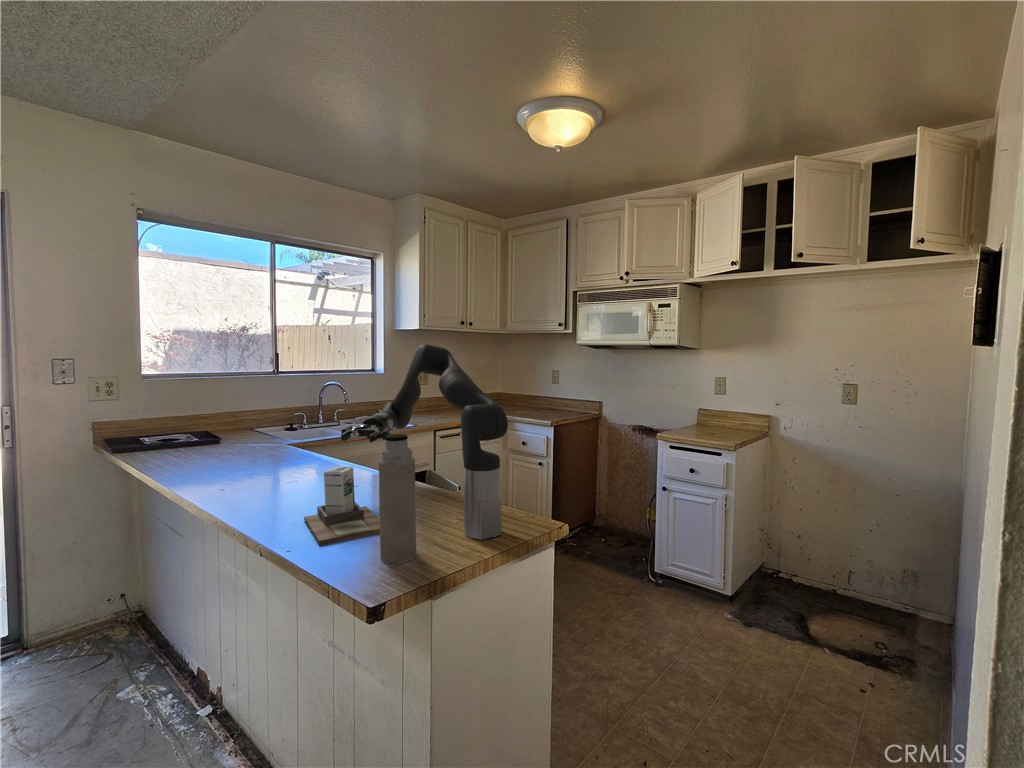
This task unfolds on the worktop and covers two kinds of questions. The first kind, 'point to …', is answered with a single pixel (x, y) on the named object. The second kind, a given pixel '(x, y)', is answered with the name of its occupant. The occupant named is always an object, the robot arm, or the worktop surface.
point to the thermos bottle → (397, 500)
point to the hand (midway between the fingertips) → (356, 438)
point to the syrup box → (339, 490)
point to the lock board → (342, 525)
